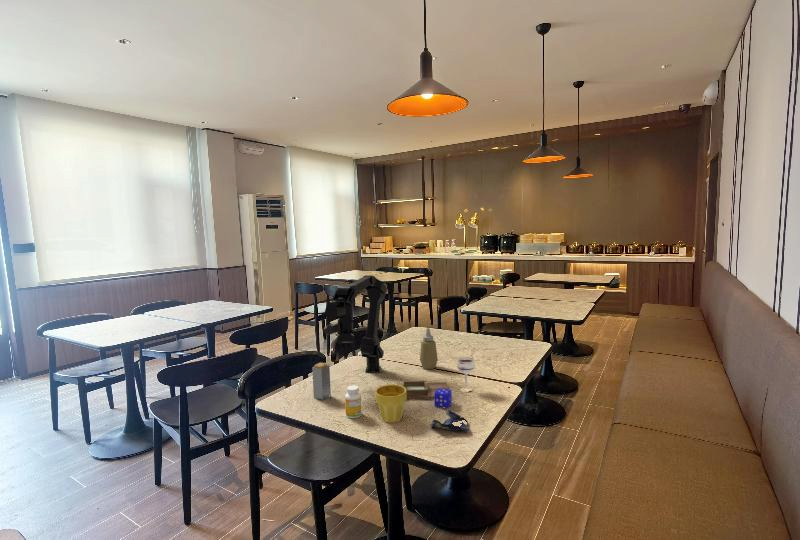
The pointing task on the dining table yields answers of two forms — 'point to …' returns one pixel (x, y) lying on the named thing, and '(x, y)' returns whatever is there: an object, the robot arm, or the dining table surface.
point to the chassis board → (422, 389)
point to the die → (443, 398)
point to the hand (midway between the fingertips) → (345, 355)
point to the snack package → (450, 422)
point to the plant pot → (391, 402)
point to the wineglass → (466, 366)
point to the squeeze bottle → (428, 351)
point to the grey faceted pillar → (321, 381)
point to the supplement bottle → (353, 402)
